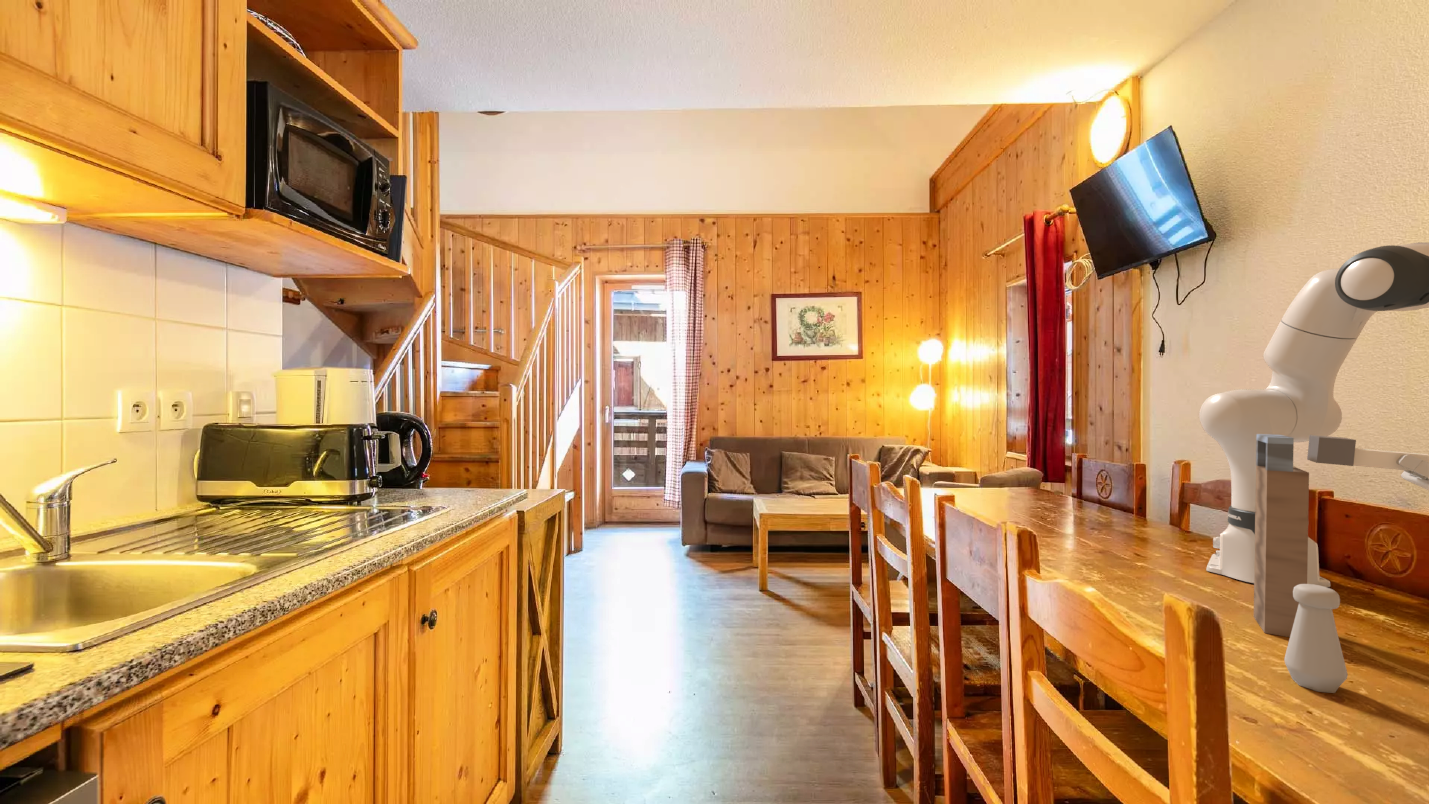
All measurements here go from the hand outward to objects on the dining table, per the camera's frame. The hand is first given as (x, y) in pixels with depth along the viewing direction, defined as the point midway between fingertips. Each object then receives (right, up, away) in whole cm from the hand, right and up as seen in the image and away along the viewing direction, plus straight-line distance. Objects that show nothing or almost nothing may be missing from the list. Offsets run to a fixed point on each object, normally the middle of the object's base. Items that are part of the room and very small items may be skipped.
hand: (1394, 456), depth 89 cm
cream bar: (-2, -2, +1) cm, 3 cm away
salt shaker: (-24, -29, -11) cm, 39 cm away
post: (-10, -29, +7) cm, 31 cm away
